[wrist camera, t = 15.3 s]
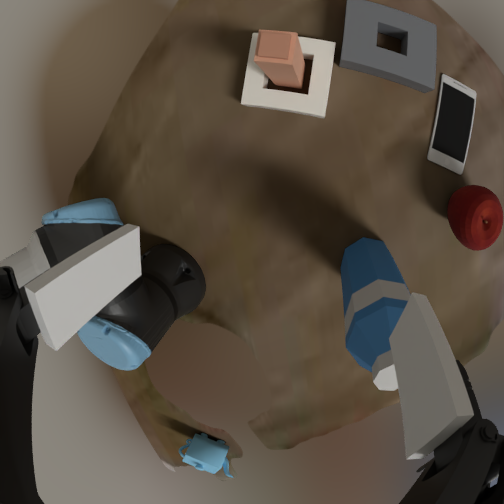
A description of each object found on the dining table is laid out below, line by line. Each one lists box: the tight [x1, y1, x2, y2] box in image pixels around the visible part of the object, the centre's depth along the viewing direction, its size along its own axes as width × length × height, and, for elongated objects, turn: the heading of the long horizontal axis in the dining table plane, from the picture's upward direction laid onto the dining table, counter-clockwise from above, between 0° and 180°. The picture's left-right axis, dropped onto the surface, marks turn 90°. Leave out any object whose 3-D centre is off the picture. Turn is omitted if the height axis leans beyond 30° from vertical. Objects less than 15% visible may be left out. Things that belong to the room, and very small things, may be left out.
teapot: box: [179, 433, 233, 478], centre depth 76 cm, size 22×11×14 cm, turn 71°
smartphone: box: [427, 74, 476, 175], centre depth 30 cm, size 7×15×1 cm, turn 170°
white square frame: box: [241, 33, 335, 118], centre depth 33 cm, size 12×12×3 cm
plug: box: [254, 30, 306, 89], centre depth 27 cm, size 4×4×15 cm
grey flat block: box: [339, 0, 437, 93], centre depth 26 cm, size 14×12×4 cm
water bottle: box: [340, 237, 411, 391], centre depth 32 cm, size 9×9×25 cm
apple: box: [447, 185, 503, 250], centre depth 30 cm, size 10×10×10 cm
